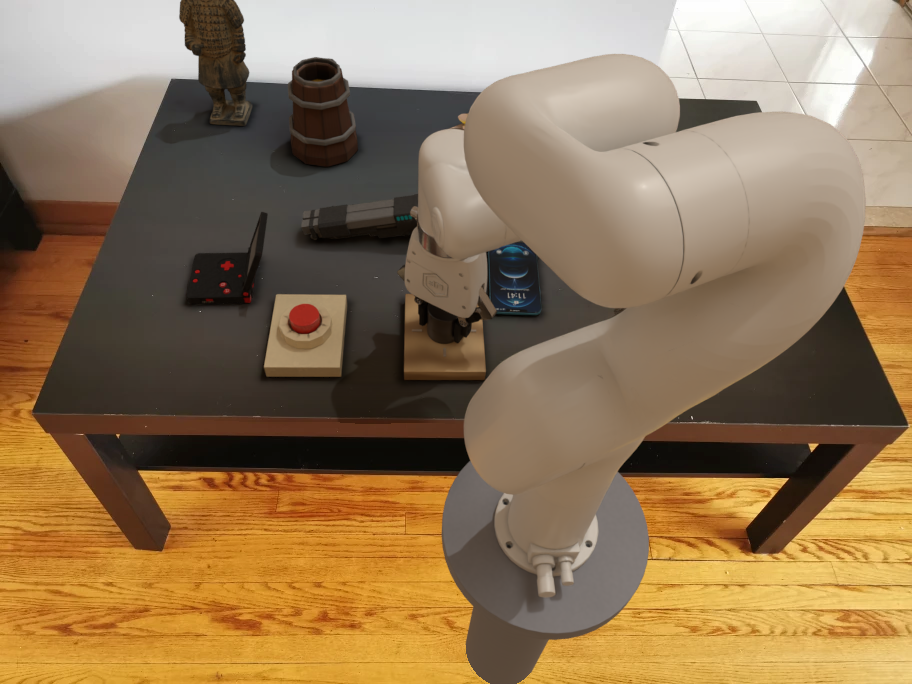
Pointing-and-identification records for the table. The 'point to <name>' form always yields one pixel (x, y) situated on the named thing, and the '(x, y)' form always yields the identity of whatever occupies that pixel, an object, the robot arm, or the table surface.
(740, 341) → the robot arm
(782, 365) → the table surface
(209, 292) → the handheld gaming console
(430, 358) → the dial panel
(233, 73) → the statue
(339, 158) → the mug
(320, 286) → the table surface
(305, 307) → the press button
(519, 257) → the smartphone
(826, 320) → the table surface
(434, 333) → the dial
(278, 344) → the block
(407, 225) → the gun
